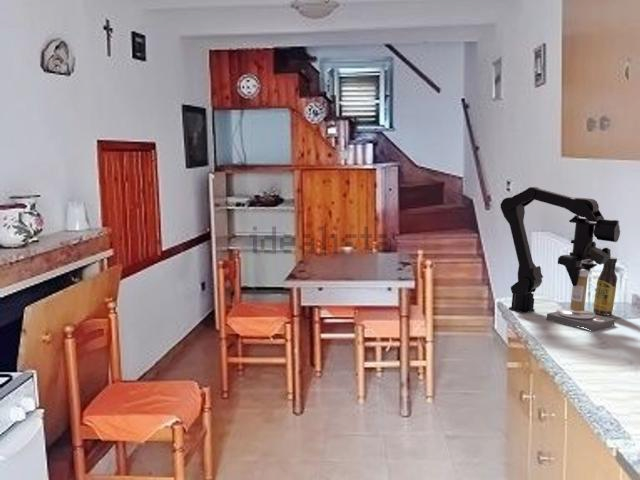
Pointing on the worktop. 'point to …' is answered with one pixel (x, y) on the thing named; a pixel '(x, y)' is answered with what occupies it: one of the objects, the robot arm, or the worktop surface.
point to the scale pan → (575, 314)
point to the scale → (583, 321)
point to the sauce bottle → (606, 288)
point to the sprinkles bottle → (579, 292)
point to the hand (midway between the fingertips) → (578, 285)
